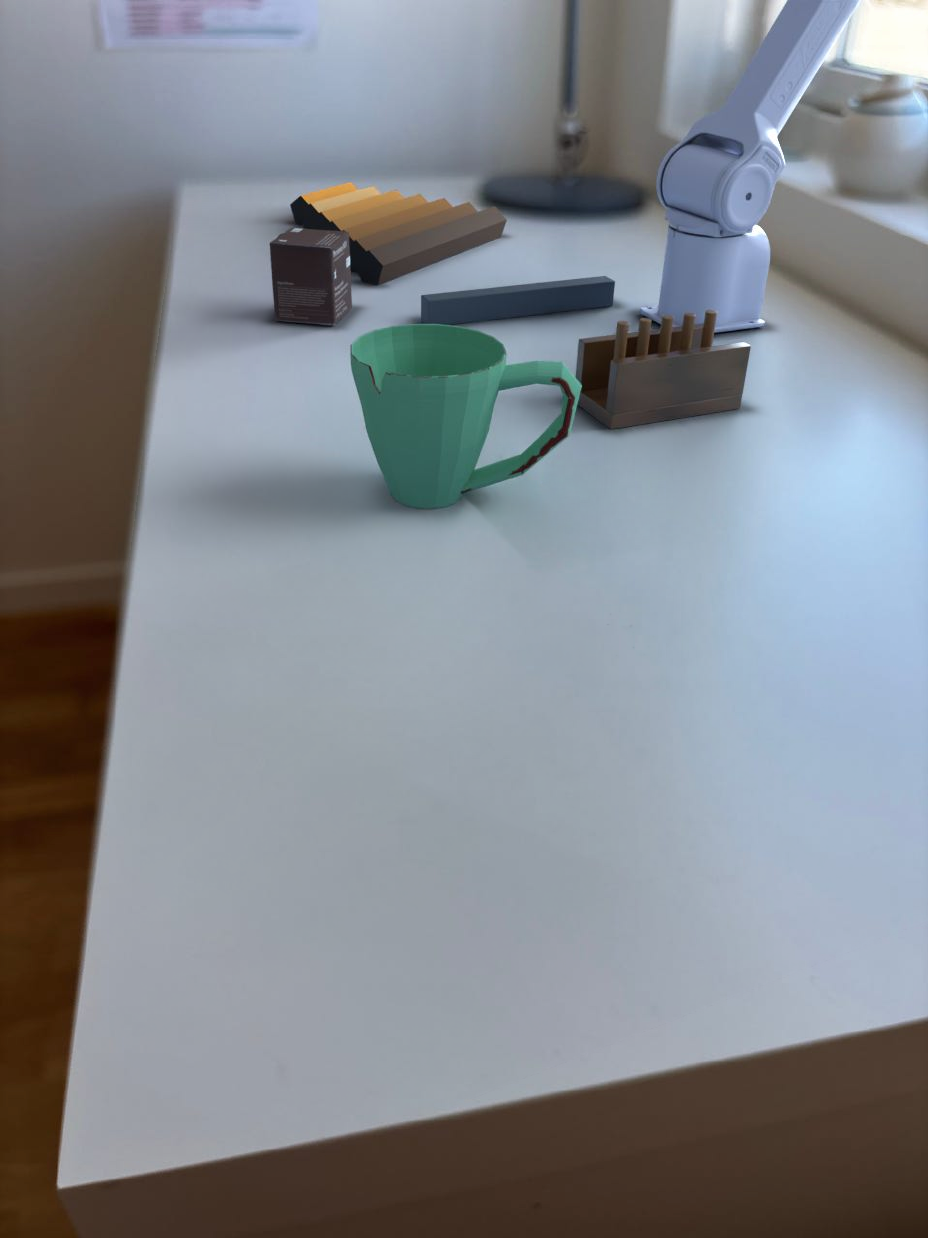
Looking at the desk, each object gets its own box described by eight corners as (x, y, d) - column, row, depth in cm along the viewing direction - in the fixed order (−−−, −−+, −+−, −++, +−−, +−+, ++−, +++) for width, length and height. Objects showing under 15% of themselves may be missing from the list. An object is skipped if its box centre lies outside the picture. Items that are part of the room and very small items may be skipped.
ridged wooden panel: (383, 285, 113) (506, 237, 131) (382, 252, 111) (507, 208, 129) (205, 247, 124) (340, 207, 142) (202, 216, 122) (339, 179, 140)
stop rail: (603, 300, 111) (605, 275, 110) (613, 305, 110) (615, 280, 108) (420, 320, 104) (420, 294, 103) (428, 327, 103) (428, 300, 101)
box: (334, 327, 102) (331, 247, 98) (273, 322, 103) (267, 241, 99) (353, 308, 107) (350, 230, 103) (294, 302, 108) (289, 226, 104)
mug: (342, 522, 70) (337, 372, 65) (365, 457, 78) (362, 319, 73) (572, 535, 69) (586, 385, 64) (570, 469, 78) (583, 330, 72)
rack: (698, 382, 92) (710, 297, 88) (740, 408, 88) (755, 320, 84) (573, 401, 88) (580, 313, 84) (610, 429, 84) (620, 337, 80)
